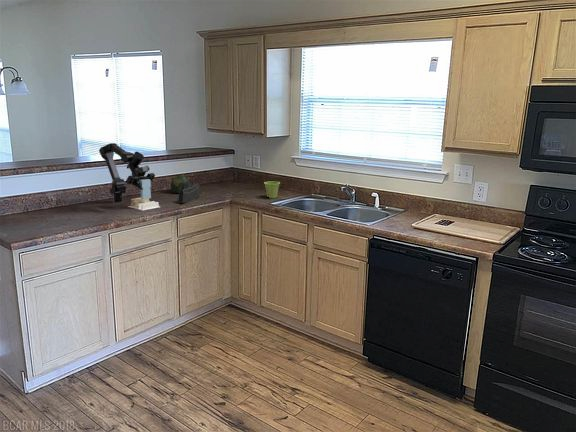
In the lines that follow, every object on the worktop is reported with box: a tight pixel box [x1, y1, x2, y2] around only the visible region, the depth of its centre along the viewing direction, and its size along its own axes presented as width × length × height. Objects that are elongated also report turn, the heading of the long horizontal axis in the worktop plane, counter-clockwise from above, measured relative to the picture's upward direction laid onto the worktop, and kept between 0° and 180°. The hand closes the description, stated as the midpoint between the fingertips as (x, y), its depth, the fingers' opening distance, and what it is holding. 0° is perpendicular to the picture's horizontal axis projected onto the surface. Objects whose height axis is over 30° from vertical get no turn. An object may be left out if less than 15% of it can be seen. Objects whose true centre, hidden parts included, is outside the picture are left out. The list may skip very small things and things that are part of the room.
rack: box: [127, 200, 161, 211], centre depth 291 cm, size 16×14×4 cm
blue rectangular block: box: [139, 179, 152, 200], centre depth 287 cm, size 2×6×12 cm, turn 143°
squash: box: [170, 173, 191, 194], centre depth 345 cm, size 14×15×15 cm
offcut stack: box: [130, 197, 151, 208], centre depth 293 cm, size 7×10×4 cm
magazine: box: [177, 181, 202, 204], centre depth 319 cm, size 17×3×30 cm
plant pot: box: [263, 181, 281, 199], centre depth 336 cm, size 12×12×11 cm
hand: (146, 188), depth 286 cm, fingers closed on blue rectangular block, 6 cm apart
